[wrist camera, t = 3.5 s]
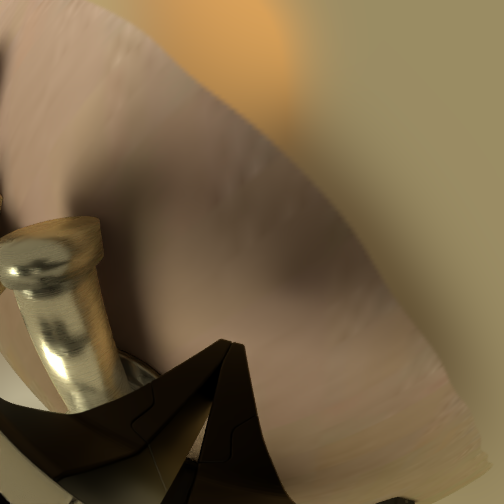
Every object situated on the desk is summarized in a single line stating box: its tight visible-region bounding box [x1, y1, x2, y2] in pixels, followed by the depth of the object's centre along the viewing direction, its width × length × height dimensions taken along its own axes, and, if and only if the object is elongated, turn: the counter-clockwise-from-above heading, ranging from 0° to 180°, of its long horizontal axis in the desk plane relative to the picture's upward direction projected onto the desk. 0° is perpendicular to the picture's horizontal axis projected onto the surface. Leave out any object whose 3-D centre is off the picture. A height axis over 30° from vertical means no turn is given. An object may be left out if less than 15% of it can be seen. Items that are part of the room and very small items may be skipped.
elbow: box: [0, 216, 140, 414], centre depth 11 cm, size 15×5×6 cm, turn 179°
